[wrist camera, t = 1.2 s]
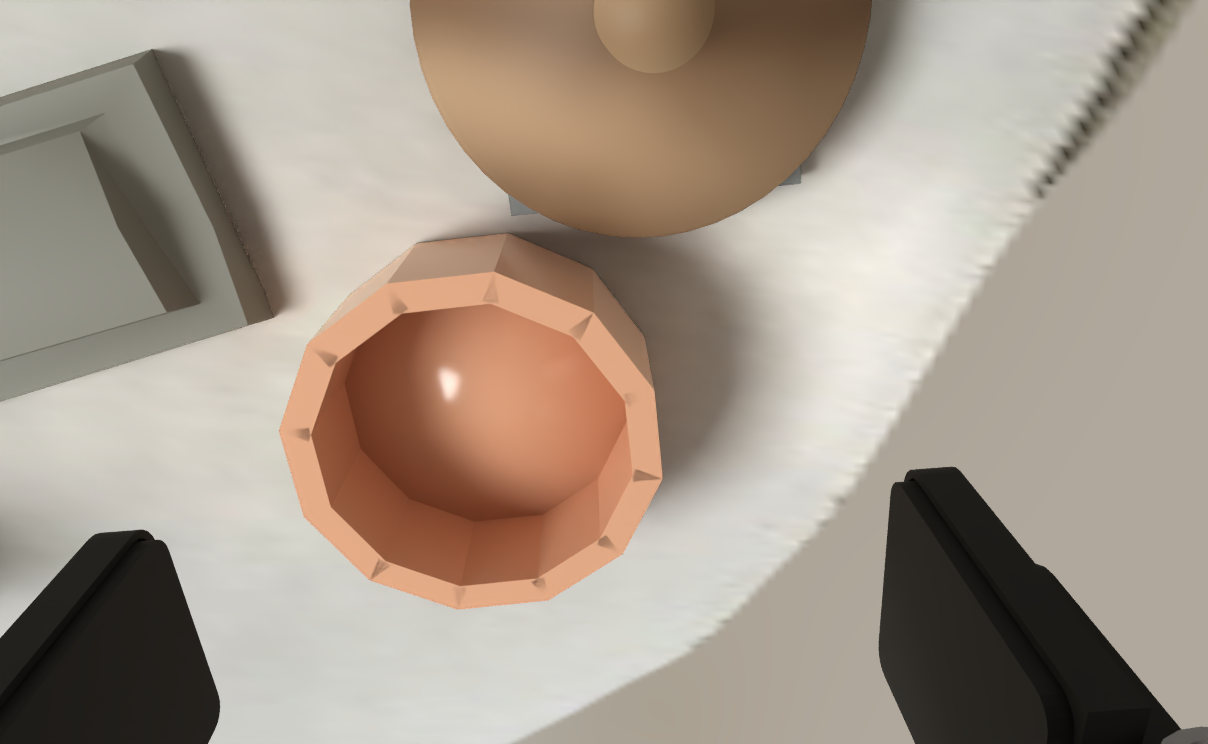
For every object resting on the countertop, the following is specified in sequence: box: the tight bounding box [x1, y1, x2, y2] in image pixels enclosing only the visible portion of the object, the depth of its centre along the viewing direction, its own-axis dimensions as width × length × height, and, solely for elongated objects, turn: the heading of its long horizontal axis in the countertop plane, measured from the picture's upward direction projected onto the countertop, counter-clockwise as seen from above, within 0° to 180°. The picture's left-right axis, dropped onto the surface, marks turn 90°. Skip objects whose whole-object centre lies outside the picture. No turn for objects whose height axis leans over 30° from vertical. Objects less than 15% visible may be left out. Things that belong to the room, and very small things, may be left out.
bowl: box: [279, 233, 663, 609], centre depth 30 cm, size 12×12×5 cm
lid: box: [410, 0, 872, 238], centre depth 24 cm, size 14×14×6 cm
